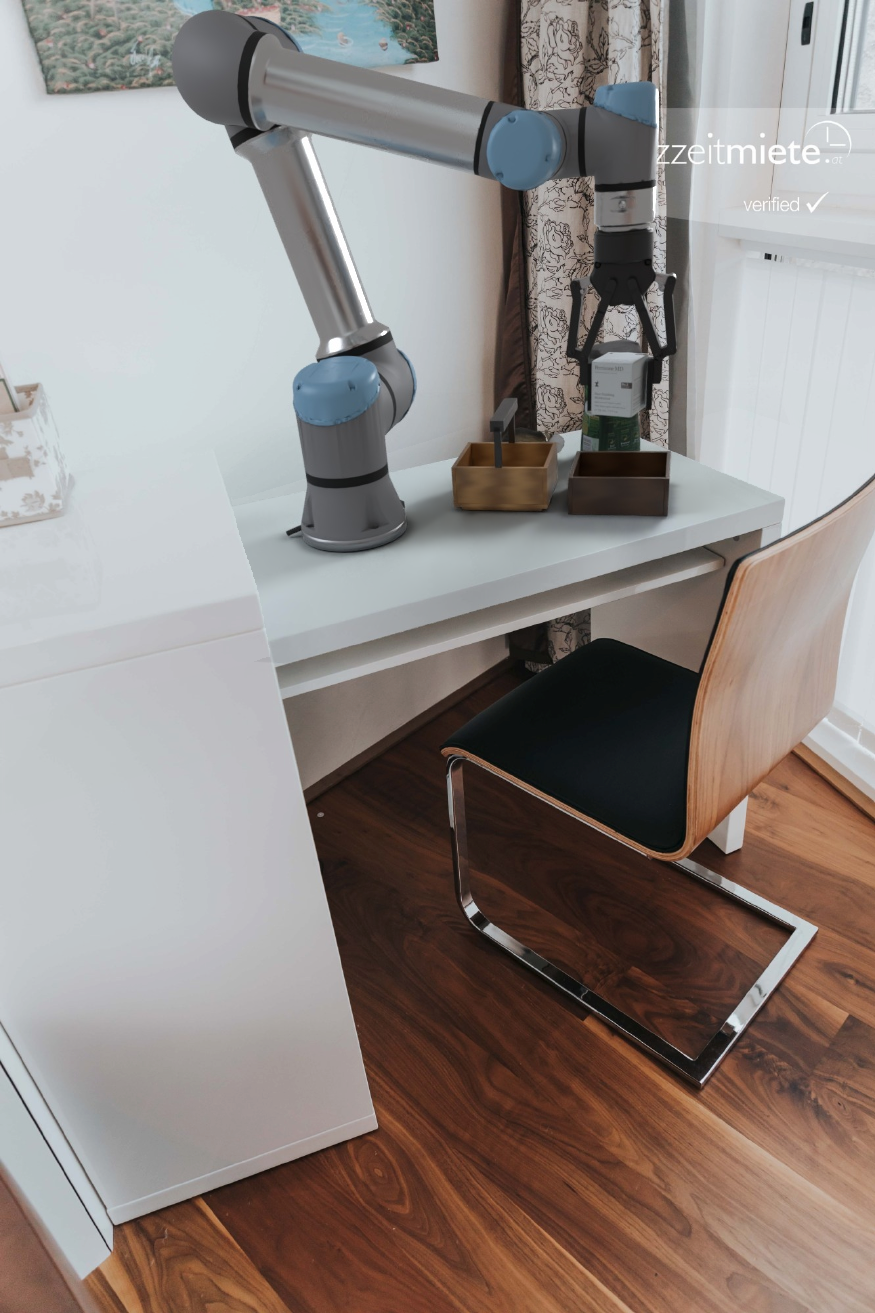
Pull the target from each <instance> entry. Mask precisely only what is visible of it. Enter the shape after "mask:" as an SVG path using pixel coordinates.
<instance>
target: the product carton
mask: <svg viewBox="0 0 875 1313" xmlns="http://www.w3.org/2000/svg"><path fill="white" fill-rule="evenodd" d="M648 357H650V354H649V353H643V352H642V353H629V352H623V353H618V352H608V353H606V354H605V355H603V356H601V357H599V358H597V359H595V360H594V361H592V395H591V413H592V414H594V415H607V416H619V417H632V416H634V415H635V414H636V413H638V414H639V412H641V411H642V410H643V409H645V408H646V391H647V365H648Z"/></svg>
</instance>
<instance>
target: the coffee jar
mask: <svg viewBox="0 0 875 1313" xmlns="http://www.w3.org/2000/svg"><path fill="white" fill-rule="evenodd" d="M608 352H618V353H623V352H629V353H643V352H642V347H641V344H640V343H639V342H638V341H635V340H631V339H626V338H622V339H617V340H610V341H606V342H601V343H596V344H594V345H593V348H592V350H591V353H590V356H589V359H597V358H599V357H601V356H603V355H605V354H606V353H608ZM583 387H584V389H583V390H584V392H583V394H584V395H583V414H582V424H581V434H580V447H579V448H580V450H579V451H641V434H640V433H641V430H640V416H639V412H638V413H636V414H635V415H634V416H632V417H619V416H607V415H594V414H592V413H591V411H587V385H584V386H583Z"/></svg>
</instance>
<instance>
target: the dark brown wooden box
mask: <svg viewBox="0 0 875 1313" xmlns="http://www.w3.org/2000/svg"><path fill="white" fill-rule="evenodd" d="M671 458H672V451H671V450H640V451H580V450H577V451H576V452H575V455H574V459H573V462H572V465H571V468H570V471H569V474H568V477H567V514H568V515H594V516H595V515H599V516H648V517H649V516H654V517H655V516H656V517H658V516H659V517H667V516H668V515H669V514H668V513H669V495H670V480H671V462H672V461H671V460H672V459H671Z"/></svg>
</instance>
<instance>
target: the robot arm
mask: <svg viewBox="0 0 875 1313" xmlns="http://www.w3.org/2000/svg"><path fill="white" fill-rule="evenodd" d="M170 56H171V59H170V60H171V62H170V63H171V70H172V77H173V80H174V82H175V85H176V86H175V87H176V88H177V90H178V93H179V94H180V96H181V98H182V100H183V101H184V102H185V104H186V105H187V106H188V107H189V108H190V109H191V110H192V112H194V113H195V115H197V116H199V117H200V118H202V120H203V119H204V120H205V121H206V122H210V123H212V124H215V125H221V126H224V128H225V131H226V134H227V136H228V139H229V141H230V143H231V146H232V149H233V151H234V153H235V154H236V155H237V156H239V157H241V158H243V159H245V160H246V161H248V162H249V163H250V164H251V166H252V169H253V171H254V174H255V176H256V179H257V181H258V184H259V187H260V190H261V192H262V194H263V197H264V199H265V202H266V206H267V208H268V210H269V212H270V215H271V218H272V220H273V222H274V225H275V228H276V230H277V234H278V236H279V239H280V241H281V243H282V246H283V248H284V251H285V254H286V256H287V259H288V261H289V264H290V267H291V269H292V271H293V274H294V278H295V280H296V282H297V284H298V287H299V290H300V292H301V295H302V297H303V300H304V303H305V305H306V308H307V310H308V313H309V315H310V318H311V320H312V324H313V326H314V329H315V331H316V333H317V336H318V339H319V343H318V344H319V345H318V347H317V350H316V353H315V355H314V357H315V360H316V362H312V363H310V364H308V365H306V366H305V367H303V368H301V369H300V370H299V371H298V372H297V373H296V375H295V376H294V378H293V381H292V395H293V397H292V406H293V410H294V413H295V419H296V425H297V431H298V437H299V442H300V449H301V454H302V461H303V467H304V472H305V479H306V490H305V497H304V503H303V509H302V515H301V521H300V523H301V524H300V525H298V526H295V527H293V528H290V529H288V530H286V531H285V533H286V536H287V537H289V536H291V535H295V534H296V533H299V532H301V535H302V540H303V541H304V543H306V544H307V545H308V546H310V547H311V548H315V549H318V550H322V551H329V552H355V551H363V550H368V549H369V550H370V549H373V548H377V547H380V546H383V545H386V544H389V543H391V542H392V541H395V540H396V539H398V538H400V537H401V536H402V535H403V534H404V533H405V532H406V530H407V529H408V521H407V513H406V511H405V510H406V509H405V508H406V505H405V501H404V500H402V499H401V498H400V496H399V494H398V492H397V489H396V488H395V486H394V483H393V481H392V479H391V476H390V471H389V463H388V462H389V461H388V453H387V452H388V451H387V444H386V443H387V442H386V436H387V434H388V433H389V432H390V431H391V430H392V429H393V428H394V427H395V426H396V425H398V424H399V423H401V422H402V421H403V420H404V418H406V416H407V415H408V413H409V411H410V409H411V407H412V405H413V403H414V401H415V398H416V395H417V387H418V384H417V382H418V381H417V375H416V370H415V368H414V365H413V363H412V362H411V360H410V358H409V357H408V356H407V355H406V354H405V353H404V351H403V350H401V349H400V348H398V347H397V345H396V343H395V340H394V337H393V334H392V332H391V328H390V327H389V326H388V325H386V324H383V323H381V322H379V321H378V320H377V319H376V318H375V316H374V312H373V309H372V307H371V303H370V301H369V298H368V296H367V292H366V290H365V287H364V283H363V281H362V278H361V276H360V273H359V270H358V266H357V264H356V262H355V259H354V256H353V254H352V250H351V247H350V245H349V242H348V239H347V236H346V232H345V231H344V228H343V226H342V223H341V219H340V216H339V213H338V211H337V208H336V206H335V203H334V200H333V197H332V194H331V192H330V189H329V185H328V183H327V181H326V177H325V175H324V172H323V170H322V167H321V164H320V161H319V158H318V156H317V152H316V150H315V147H314V143H313V140H312V137H313V135H317V136H321V137H325V138H329V139H333V140H337V141H341V142H345V143H348V144H352V145H357V146H360V147H365V148H368V149H372V150H375V151H376V150H377V151H381V152H384V153H388V154H392V155H396V156H400V157H404V158H408V159H412V160H415V161H419V162H424V163H426V164H427V163H428V164H431V165H435V166H438V167H442V168H447V169H450V170H454V171H459V172H463V173H467V174H471V175H474V176H479V177H481V178H484V179H488V180H491V181H495V182H499V183H500V184H502V185H503V186H504V187H505V188H508V189H511V190H516V191H522V192H525V191H526V192H527V191H532V190H535V189H538V188H539V187H540V186H543V185H544V184H546V183H547V182H548V181H555V180H565V179H566V180H567V179H574V178H588V177H593V178H594V186H593V189H594V190H593V191H594V197H593V199H594V200H593V205H594V206H593V225H594V226H596V227H597V230H596V231H595V233H594V234H593V267H592V271H591V273H590V274H589V275H587V276H584V277H580V278H579V277H574V278H573V279H572V280H571V281H570V282H569V290H570V294H571V299H572V301H571V307H570V308H571V309H570V317H569V326H568V334H567V341H566V348H565V356H566V357H567V358H569V359H573V360H576V361H578V364H579V384H580V386H583V387H584V385H587V411H591V395H592V361H594V360H595V359H589V356H590V353H591V350H592V348H593V345H595V343H596V340H597V338H598V336H599V335H598V334H599V332H600V331H601V330H600V329H601V327H602V325H603V322H604V319H605V317H606V315H607V314H606V313H607V312H608V309H609V308H610V307H618V306H621V305H623V306H627V307H631V306H634V308H635V311H636V313H637V315H638V318H639V321H640V323H641V326H642V329H643V332H644V334H645V337H646V341H647V343H648V346H649V349H650V352H651V355H652V356H649V357H648V365H647V391H646V407H645V411H652V408H653V395H654V385H661V383H662V379H663V361H664V359H665V358H667V357H669V356H674V355H675V354H676V353H677V352H678V342H677V341H678V340H677V327H676V317H675V316H676V315H675V301H674V290H675V287H676V283H677V275H676V273H674V272H670V273H663V272H658V271H657V269H656V267H655V265H654V248H655V247H654V245H655V229H654V228H653V226H650V225H651V224H652V223H653V222H654V221H655V220H656V199H657V198H656V196H657V193H656V192H657V185H656V184H657V180H656V179H657V169H658V168H657V166H658V151H659V150H658V148H659V128H660V124H659V123H660V121H659V118H660V116H659V114H660V113H659V112H660V111H659V89H658V87H657V86H656V85H655V84H654V83H653V82H652V81H649V80H643V81H641V80H640V81H630V82H621V83H614V84H605V85H600V86H598V87H597V89H596V90H595V92H594V93H595V94H594V100H593V104H591V105H587V106H581V107H575V108H573V107H572V108H558V109H547V110H546V109H545V110H534V109H530V108H525V107H521V106H517V105H513V104H509V103H505V102H502V101H501V102H500V101H494V100H491V99H490V98H489V99H488V98H484V97H480V96H477V95H472V94H468V93H464V92H460V91H456V90H452V89H449V88H444V87H440V86H437V85H432V84H429V83H425V82H420V81H416V80H413V79H409V78H405V77H400V76H396V75H393V74H390V73H389V74H388V73H385V72H381V71H377V70H372V69H370V68H364V67H361V66H357V65H353V64H349V63H345V62H341V61H337V60H333V59H330V58H325V57H321V56H317V55H313V54H309V53H305V52H304V50H303V48H302V46H301V45H300V43H299V41H298V40H296V38H295V37H294V36H293V34H291V33H290V32H289V31H288V30H287V29H285V28H284V27H283V26H281V25H279V24H277V23H276V22H274V21H272V20H270V19H268V18H266V17H263V16H256V15H244V14H243V15H242V14H238V13H235V12H230V11H226V10H221V9H209V10H208V9H207V10H204V11H201V12H198V13H196V14H194V15H193V16H191V17H190V18H188V19H187V20H186V21H185V22H184V23H183V24H182V25H181V27H180V29H179V30H178V32H177V34H176V36H175V38H174V41H173V45H172V50H171V55H170ZM654 282H655V283H657V287H658V290H659V292H661V293H662V306H663V315H664V329H665V339H666V341H665V342H666V344H665V345H663V346H662V344H661V341H660V337H659V335H658V333H657V329H656V327H655V323H654V321H653V318H652V315H651V312H650V309H649V306H648V302H647V299H646V296H645V295H646V294H647V292H648V291H649V289H651V287H652V285H653V284H654ZM589 286H592V287H593V289H594V290H595V292H596V293H597V295H598V296H599V298H600V301H599V304H598V306H597V309H596V312H595V315H594V317H593V320H592V322H591V325H590V328H589V330H588V333H587V335H586V338H585V341H584V342H583V346H582V348H580V347H578V342H579V335H580V328H581V319H582V312H583V304H584V296H585V295H586V294H587V293H588V291H589Z"/></svg>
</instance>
